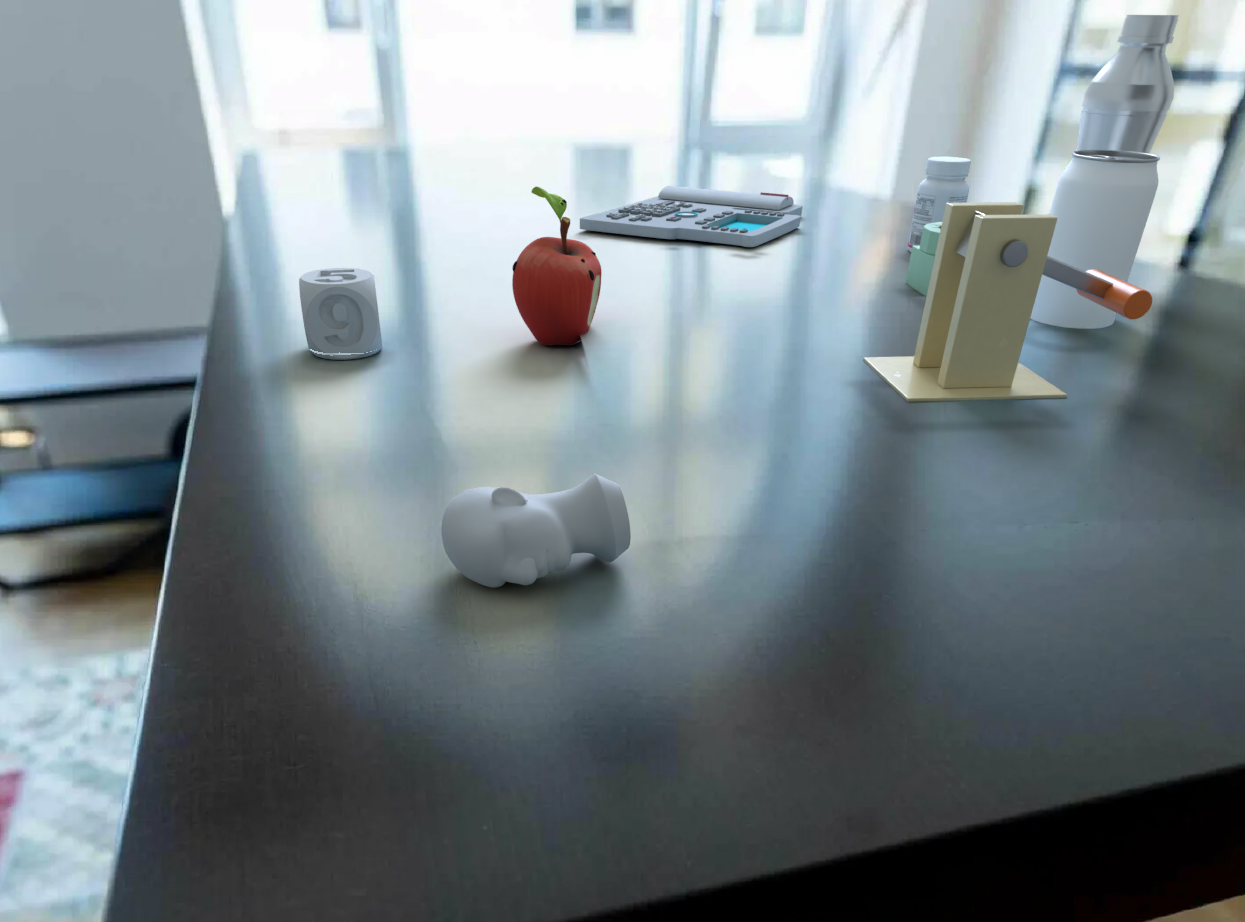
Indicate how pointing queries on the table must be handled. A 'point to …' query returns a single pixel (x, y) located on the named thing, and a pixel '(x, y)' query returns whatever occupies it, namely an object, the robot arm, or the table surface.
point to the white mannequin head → (533, 530)
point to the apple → (557, 283)
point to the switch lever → (1088, 283)
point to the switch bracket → (977, 310)
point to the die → (340, 312)
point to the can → (1096, 229)
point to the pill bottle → (938, 193)
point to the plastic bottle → (1130, 89)
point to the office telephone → (702, 216)
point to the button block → (923, 258)
